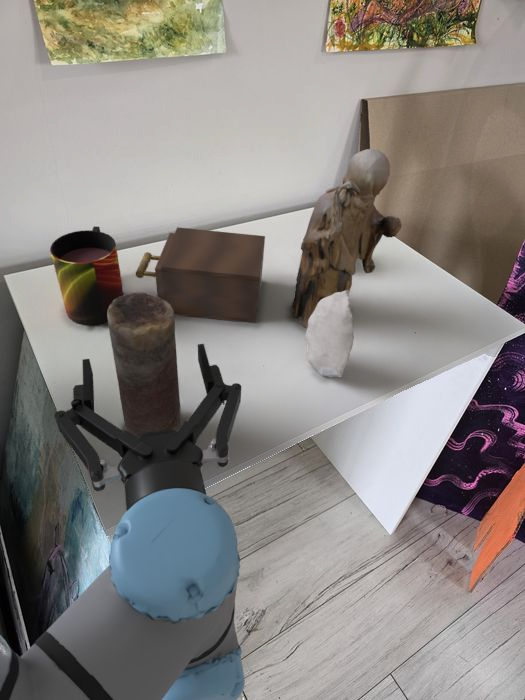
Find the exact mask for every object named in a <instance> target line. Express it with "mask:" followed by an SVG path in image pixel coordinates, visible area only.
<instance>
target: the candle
mask: <svg viewBox="0 0 525 700" xmlns="http://www.w3.org/2000/svg"><path fill="white" fill-rule="evenodd" d="M107 318H108V323H107V325H108V330H109V337H110V343H111V348H112V353H113V354H112V355H113V360H114V367H115V372H116V378H117V385H118V389H119V390H118V391H119V400H120V404H121V406H120V407H121V411H122V418H123V424H124V429H125V430H124V431H127V432H129V433H130V434H132V435H133V436H135V437H136V438H138V437H140V436H142V433H147V432H159V431H162V430H165V429H170V428H172V430H173V431H178V429H179V428H180V427H181V425H182V414H181V413H182V412H181V399H180V385H179V384H180V383H179V371H178V355H177V353H178V352H177V342H176V340H177V339H176V321H175V315H174V311H173V308H172V307H171V305H170V304H169V303H168V302H167V301H165V300H163V299H161V298H159V297H157V295H153V294H149V293H146V292H130V293H127V294H124V295H123V296H120V297H118V298H116V299H114V300H113V302H112V303H111V304H110V306H109V308H108V310H107Z"/></svg>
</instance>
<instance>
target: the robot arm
mask: <svg viewBox="0 0 525 700" xmlns="http://www.w3.org/2000/svg"><path fill="white" fill-rule="evenodd" d="M197 361H198V365H199V369H200V374H201V377H202V381H203V385H204V389H205V392H206V395H205V397H204V398H203V399H202V400H201V402H200V403H199V405H197V407H196V408H195V410H194V411H193V413H192V414H191V415H190V417H189V418H188V419H187V420H184V422H182V423H181V424H180V426H179V428H178V430H177V431H173V430H172V428H170V429H165V430H162V431H159V432H147V433H142V436H140V437H138V438H136V437H135V436H133V435H132V434H130V433H129V432H127V431H126V430H122V429H120V428H119V427H118V426H116V425H114V424H113V423H112V422H110V421H109V420H107V419H106V418H105V417H103V416H101V414H98V412H95V411H96V410H95V390H94V389H95V388H94V387H95V386H94V373H93V368H92V365H91V359H90V358H84V359H82V383H81V384H75V385H74V387H73V388H72V390H73V392H72V393H73V394H72V395H73V396H72V401H71V402H70V405H71V406H70V407H71V408H70V409H68V410H64V409H61V410H58V411H56V412H55V413H54V419H55V422H56V426H57V427H58V431H59V432H60V434H61V435H62V436H63V438H64V439H65V441H66V442H67V443H68V445H69V447H70V448H71V449H72V451H73V452H74V453H75V455H76V456H77V457H78V459H79V460H80V462H81V463H82V464H83V466H84V467H85V468H86V470H87V471H88V475H89V479H90V482H91V485H92V488H93V490H94V491H95V492H102V491H103V490H105V488H106V485H107V484H110V483H114V482H117V481H121V482H122V484H123V485H124V496H125V497H124V498H125V508H126V510H125V511H126V512H124V513H123V515H122V517H121V519H120V520H119V522H118V524H117V527H116V529H115V531H114V532H113V537H112V540H111V542H110V548H109V555H108V556H109V557H108V564H109V565H108V566H107V567H106V568H105V569H104V570H103V571H102V572H101V573H100V574H99V575H98V576H97V577H96V578H95V579H94V580H93V581H92V582H91V583H90V584H89V586H87V588H86V589H84V591H83V592H82V593H81V594H80V595H79V596H78V597H76V599H75V600H74V601H73V602H72V603H71V604H70V605H69V606H68V607H67V609H66V610H65V611H64V612H63V613H62V614H61V615H60V616H59V617H58V618H57V619H56V620H55V621H54V622H53V623H52V624H51V625H50V626H49V627H48V628H47V629H46V631H44V632H43V633H41V635H40V636H39V637H37V639H36V640H35V642H33V644H32V646H30V648H28V649H27V650H26V651H25V652H24V653H23V654H22V655H18V653H16V652H15V651H14V650H13V648H11V647H10V646H9V644H8V642H7V640H6V639H5V638H3V636H2V635H1V634H0V700H238V699H239V698H240V697H241V695H242V694H243V691H244V689H245V683H246V678H245V672H244V667H243V666H244V665H243V661H242V652H243V649H242V647H241V645H240V644H239V640H238V636H237V629H236V626H235V611H236V595H237V587H238V579H239V577H240V569H241V558H240V553H239V551H238V550H239V549H238V538H237V533H236V529H235V526H234V523H233V521H232V519H231V517H230V515H229V514H228V512H227V511H226V510H225V508H224V507H223V506H222V505H221V504H220V503H219V502H218V501H217V500H216V499H214V498H213V497H211V496H209V495H207V491H206V485H205V482H204V477H203V471H202V467H203V464H215V463H216V465H217V467H220V468H225V467H227V466H228V464H229V442H230V439H231V435H232V431H233V428H234V425H235V422H236V419H237V416H238V412H239V408H240V405H241V403H242V384H240V383H238V382H235V383H232V384H226V383H225V382H224V379H223V376H222V372H221V370H220V367H219V366H218V364H213V365H210V362H209V358H208V355H207V350H206V347H205V343H198V344H197ZM222 405H223V406H224V407H223V410H222V412H221V416H220V418H219V422H218V425H217V427H216V430H215V439H211V441H210V442H209V443H208V445H207V447H206V449H204V450H202V449H201V447H199V446H198V445H197V442H198V439H199V438H200V436H201V435H202V434H203V432H204V430H205V429H206V428H207V426H208V425H209V423H211V421H212V419H213V418H214V416H215V415H216V413H217V412H218V410H219V409H220V408H221V406H222ZM78 426H79V427H81V428H82V429H83V430H84V431H86V432H88V433H89V434H90V435H92V436H93V437H94V438H96V439H98V440H99V441H100V442H102V443H103V444H105V445H106V446H107V447H109V448H110V449H112V450H113V451H115V452H116V453H117V454H118V455H119V457H120V458H121V459H120V460H119V462H118V464H117V466H113V465H111V464H110V462H109V461H107V460H106V459H100V456H99V453H98V452H97V451H96V449H95V448H94V447H93V446H92V444H91V443H90V442H89V440H88V439H87V437H86V436H85V435H84V434H83V432H82V431H81V429H80V428H79V427H78Z"/></svg>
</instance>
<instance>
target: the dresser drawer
mask: <svg viewBox="0 0 525 700" xmlns="http://www.w3.org/2000/svg"><path fill="white" fill-rule="evenodd" d="M174 234H175V232H169V234H168V237H167V238H166V241H165V243H164V246H163V248H162V251H161V253H160V255H155V254H154V255H153V254H152V253H151V252H148V251H147V252H144V254H143V256H142V258H141V260H140V263H139V264H138V266H137V269H136V271H135V273H134V274H135V277H136V278H138V279H142V278H144V277H151V278H152V277H153V278H155V285H156V296H157V297H159V298H161V299H163V300H164V296H163V284H162V272H161V266H162V264H163V261H164V259H165V256H166V254H167V251H168V249H169V246H170V244H171V241H172V239H173V236H174ZM151 261H157V262H156V264H155V267H154V271H148V270H147V269H148V267H149V265H150V263H151Z"/></svg>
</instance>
